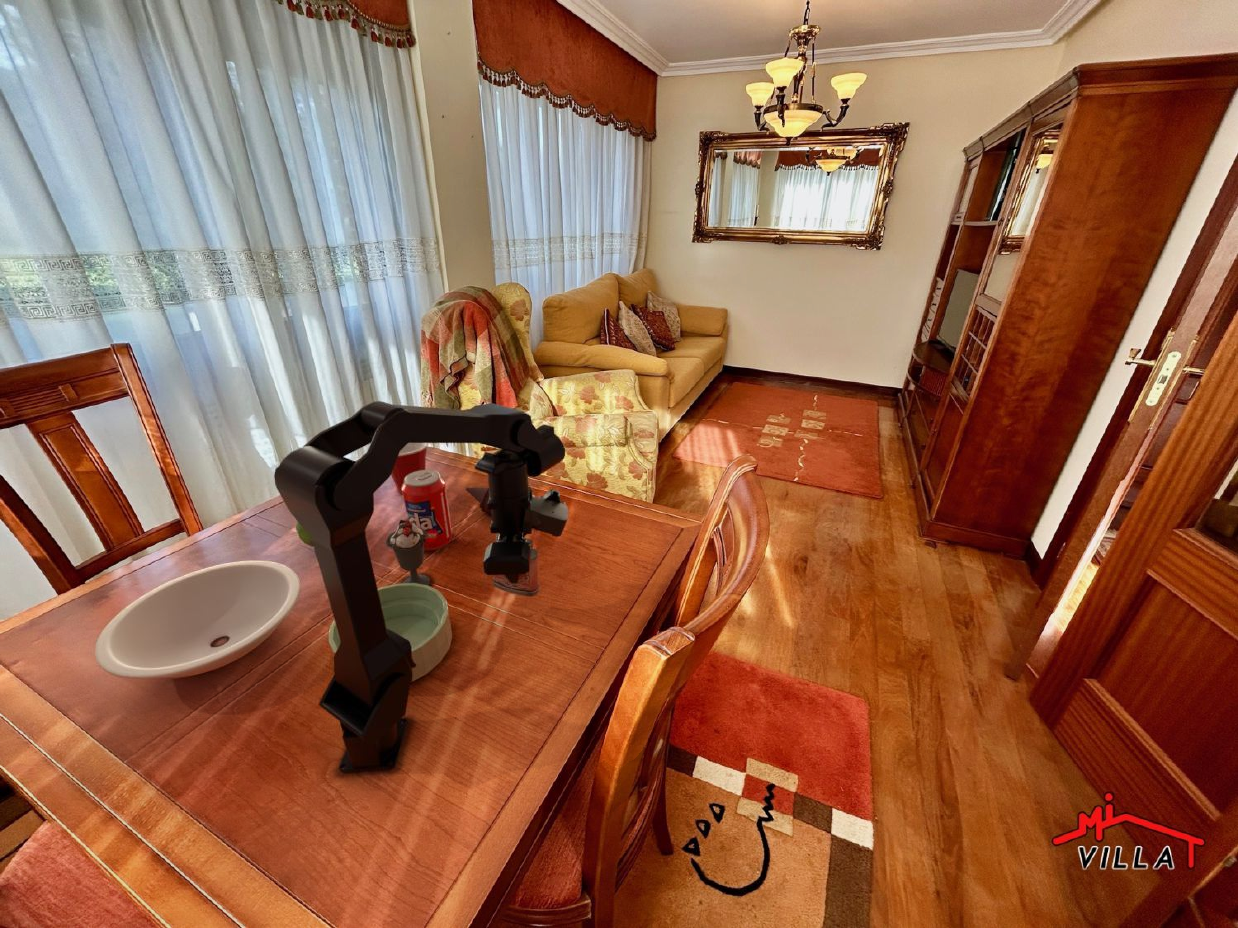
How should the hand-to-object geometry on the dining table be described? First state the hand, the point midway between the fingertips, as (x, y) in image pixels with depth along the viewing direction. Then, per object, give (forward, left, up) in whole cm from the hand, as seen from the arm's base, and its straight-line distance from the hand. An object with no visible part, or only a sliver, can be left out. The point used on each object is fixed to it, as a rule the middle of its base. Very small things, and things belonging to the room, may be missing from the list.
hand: (515, 573), depth 80 cm
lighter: (0, 0, -3) cm, 3 cm away
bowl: (-6, +18, -9) cm, 21 cm away
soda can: (+22, +19, -9) cm, 30 cm away
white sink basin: (-3, +45, -9) cm, 46 cm away
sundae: (+9, +19, -9) cm, 23 cm away
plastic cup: (+44, +29, -9) cm, 53 cm away
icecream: (+33, +8, -9) cm, 35 cm away
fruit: (+25, +38, -9) cm, 46 cm away
